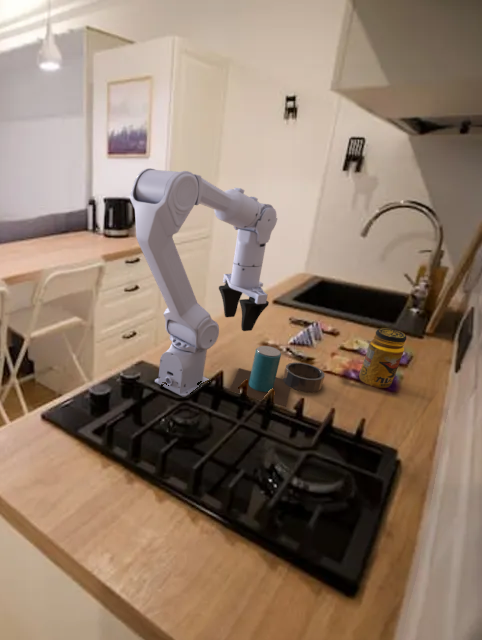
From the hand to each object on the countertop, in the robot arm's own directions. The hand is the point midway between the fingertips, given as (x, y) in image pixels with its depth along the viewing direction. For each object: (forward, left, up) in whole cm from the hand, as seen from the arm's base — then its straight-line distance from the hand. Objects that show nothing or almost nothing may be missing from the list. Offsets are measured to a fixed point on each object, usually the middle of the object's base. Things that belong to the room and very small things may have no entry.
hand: (237, 323), depth 90 cm
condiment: (+16, -24, -11) cm, 31 cm away
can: (-5, -10, -10) cm, 15 cm away
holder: (+3, -15, -10) cm, 18 cm away
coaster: (-5, -10, -10) cm, 15 cm away
